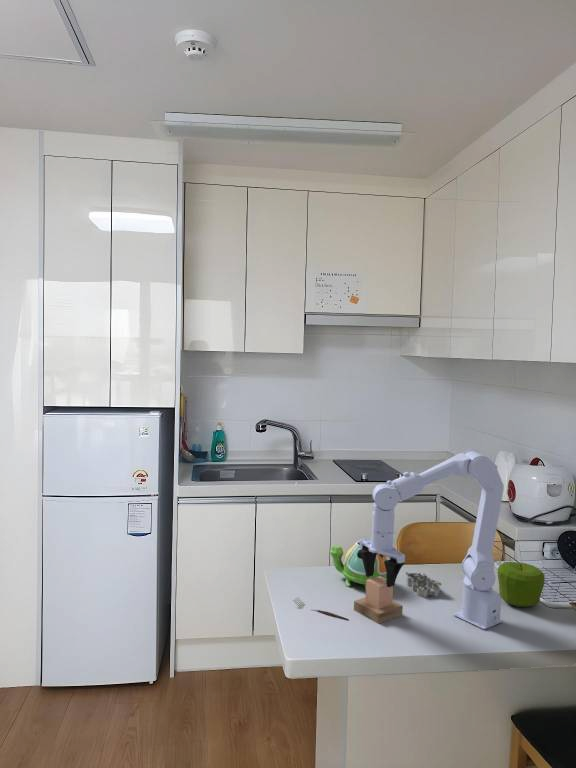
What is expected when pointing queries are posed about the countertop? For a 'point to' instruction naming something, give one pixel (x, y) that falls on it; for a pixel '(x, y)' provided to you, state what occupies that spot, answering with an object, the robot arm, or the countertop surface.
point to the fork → (320, 610)
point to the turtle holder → (356, 565)
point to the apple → (520, 583)
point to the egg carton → (418, 584)
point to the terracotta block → (378, 592)
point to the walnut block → (378, 611)
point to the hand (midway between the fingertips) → (379, 580)
